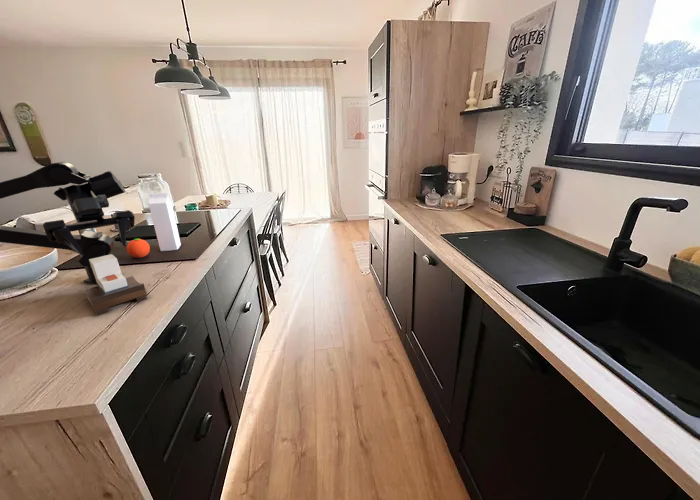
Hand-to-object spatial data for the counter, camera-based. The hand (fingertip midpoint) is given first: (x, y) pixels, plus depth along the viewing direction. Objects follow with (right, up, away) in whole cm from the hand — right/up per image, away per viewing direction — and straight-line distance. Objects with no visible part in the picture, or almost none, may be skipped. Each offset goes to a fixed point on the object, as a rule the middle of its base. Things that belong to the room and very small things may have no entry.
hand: (104, 250), depth 78 cm
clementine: (-11, -3, +29) cm, 31 cm away
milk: (-5, +1, +38) cm, 38 cm away
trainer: (+2, -10, 0) cm, 11 cm away
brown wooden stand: (+4, -13, 0) cm, 14 cm away
